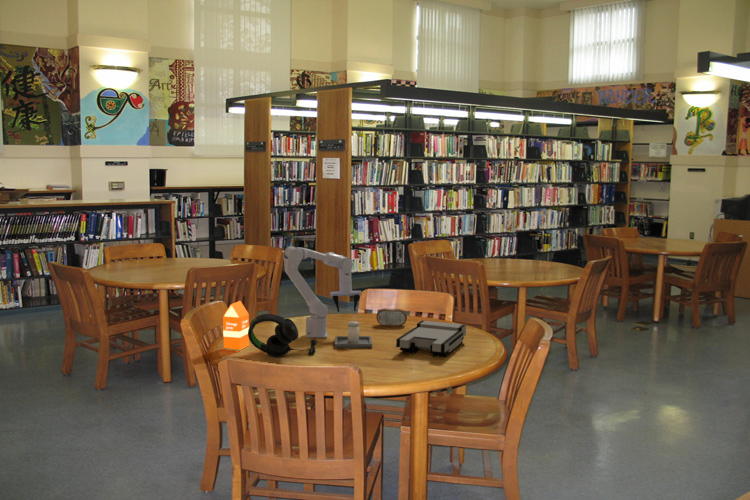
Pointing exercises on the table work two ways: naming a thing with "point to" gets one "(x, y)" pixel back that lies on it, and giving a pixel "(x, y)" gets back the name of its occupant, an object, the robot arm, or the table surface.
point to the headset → (277, 336)
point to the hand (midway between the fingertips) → (346, 311)
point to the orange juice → (236, 327)
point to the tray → (343, 343)
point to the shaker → (353, 332)
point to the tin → (391, 317)
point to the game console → (432, 338)
